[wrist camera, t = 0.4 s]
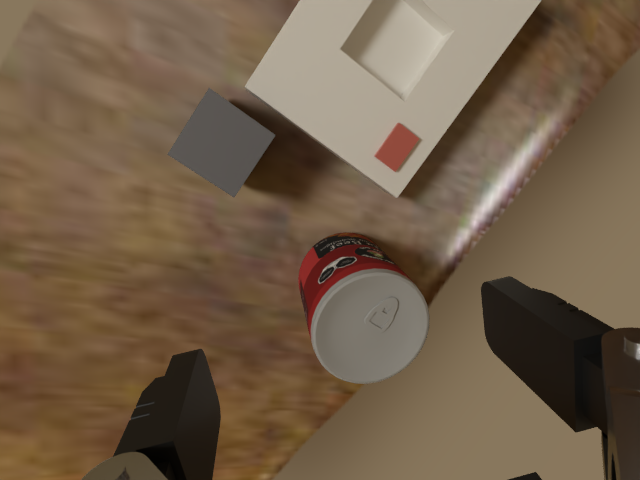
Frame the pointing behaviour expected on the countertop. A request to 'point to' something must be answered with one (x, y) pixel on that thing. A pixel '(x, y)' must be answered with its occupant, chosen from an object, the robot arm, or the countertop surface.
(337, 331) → the canned food
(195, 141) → the dark grey cube
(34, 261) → the countertop surface
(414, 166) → the socket plate
